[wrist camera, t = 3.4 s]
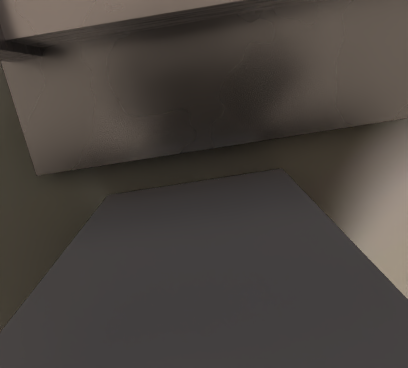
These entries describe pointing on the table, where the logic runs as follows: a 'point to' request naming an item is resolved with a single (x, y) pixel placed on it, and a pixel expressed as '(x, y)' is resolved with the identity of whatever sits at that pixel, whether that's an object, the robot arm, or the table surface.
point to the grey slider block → (211, 286)
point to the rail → (196, 73)
